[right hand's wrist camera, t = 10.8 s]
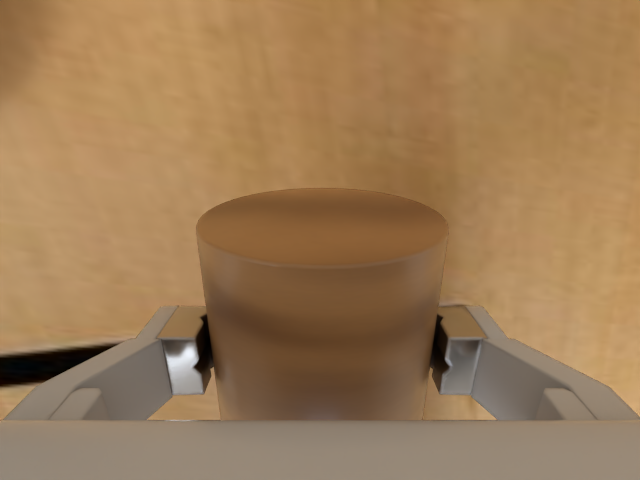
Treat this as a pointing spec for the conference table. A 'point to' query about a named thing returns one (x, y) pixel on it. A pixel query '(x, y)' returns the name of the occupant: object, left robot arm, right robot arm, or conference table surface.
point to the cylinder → (322, 303)
